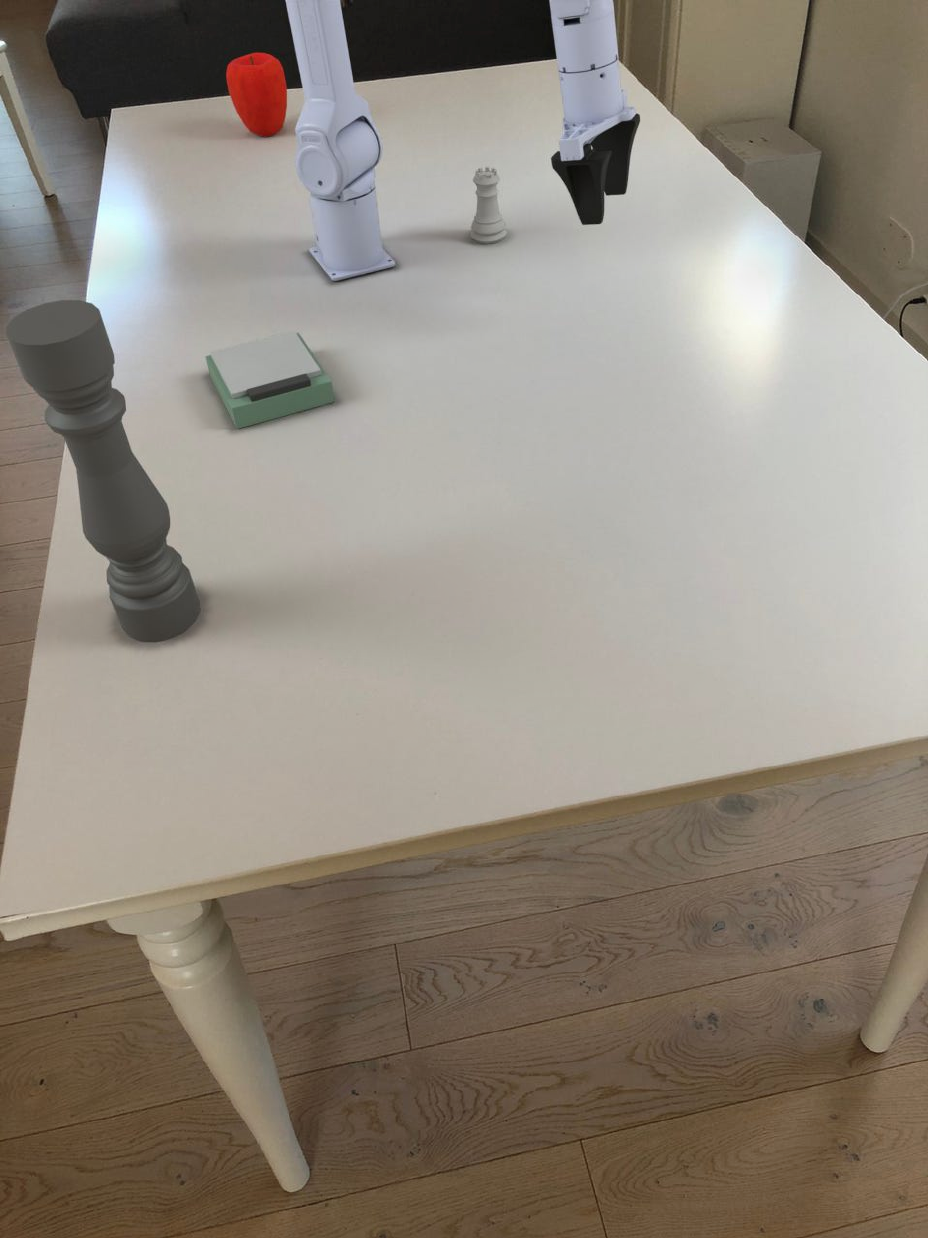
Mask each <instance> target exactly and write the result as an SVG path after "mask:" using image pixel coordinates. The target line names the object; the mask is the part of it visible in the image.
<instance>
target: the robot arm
mask: <svg viewBox="0 0 928 1238" xmlns="http://www.w3.org/2000/svg"><path fill="white" fill-rule="evenodd" d="M285 5H286V11H287V16H288V21H289V25H290V30H291V34H292V40H293V41H292V42H293V46H294V52H295V57H296V62H297V65H298V72H299V74H300V75H299V76H300V81H301V82H300V83H301V87H302V91H303V96H304V103H303V106H302V109H301V111H300V114H299V117H298V120H297V121H296V125H295V127H294V132H295V137H296V153H295V157H294V164H295V165H294V167H295V171H296V174H297V176H298V179H299V180H300V181H299V182H301V185H303V186H304V188H305V189H306V190H307V191H308V192H309V207H310V208H309V209H310V213H311V220H312V225H313V226H312V227H313V231H314V237H315V239H314V240H315V246H311V247H310V248H309V249H308V250H309V253H310V254H311V256H312V257H314V259H315V261H316V262H317V264H319V267H321V269H323V271H324V272H325V273H326V275H327V276H328V277H329V279H330V280H331V281H332V282H333V281H334V282H337V281H338V282H339V281H341V280H346V279H350V278H353V277H357V276H362V275H366V274H369V273H373V272H378V271H381V270H386V269H390V268H394V267H395V266H396V261H395V260H394V259H393V258H392V257H391V255H389V253H387V251H386V250H385V249H384V248H383V241H382V232H381V231H382V230H381V224H380V223H381V222H380V216H379V215H380V214H379V206H378V198H377V190H376V188H377V187H376V181H375V179H376V177H377V175H376V168H375V167H377V166H378V164H379V163H380V161H381V159H382V156H383V152H384V151H383V140H382V136H381V133H380V131H379V130H378V128H377V127H376V124H375V123H374V120H373V118H372V115H371V109H370V103H368V102H369V101H367V100H365V98H364V97H362V96H361V95H360V94H358V92H357V91H356V90H355V89H356V88H355V83H354V78H353V72H352V66H351V65H352V64H351V60H350V54H349V48H348V42H347V35H346V29H345V23H344V18H343V11H342V6H341V0H285ZM549 10H550V19H551V27H552V33H553V40H554V48H555V54H556V55H555V56H556V63H557V70H558V71H557V72H558V78H559V87H560V95H561V104H562V110H563V118H562V126H561V129H562V130H561V132H562V134H561V137H560V138H559V139H558V147H559V150H557V151H556V152H554V154H553V155H552V156H551V157H550V160H551V161H550V162H551V167H552V169H553V170H554V172H555V173H556V174H557V175H558V176H559V178H560V179H561V181H562V183H563V184H564V186H565V187H566V190H567V191H568V193H569V195H570V198H571V201H572V203H573V205H574V208H575V211H576V214H577V216H578V219H579V221H580V223H581V225H582V226H590V225H591V226H593V225H594V226H595V225H601V224H602V223H603V222H604V218H605V217H604V216H605V196H606V197H607V196H623V195H624V196H625V195H626V193H627V189H628V185H629V175H630V164H631V156H632V150H633V145H634V141H635V138H636V134H637V132H638V129H639V126H640V123H641V115H640V113H636V112H637V111H636V107H635V106H629V103H628V94H627V88H622V80H621V69H620V62H619V61H620V59H619V48H618V39H617V37H618V36H617V27H616V17H615V6H614V0H549Z"/></svg>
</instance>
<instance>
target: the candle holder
mask: <svg viewBox="0 0 928 1238" xmlns="http://www.w3.org/2000/svg"><path fill="white" fill-rule="evenodd" d="M5 336H6V338H7V340H8V343H9V345H10V348H11V350H12V353H13V355H14V357H15V361H16V362H17V365H18V367H19V370H20V372H21V375H22V377H23V380H24V381H25V382H26V383H27V384H28V385H29V387H31V388H32V390H33V391H34V392H35V393H36V394H37V395H38V396H39V397H40V398H42V399H44V401H45V402H46V403H47V404H48V405H47V407H46V408H45V409H44V422H45V423H46V425H47V426H48V427H49V428H50V429H51V430H52V432H53V433H56V434H59V435H60V436H62V437H63V439H64V442H65V445H66V447H67V449H68V452H69V454H70V457H71V459H72V462H73V465H74V467H75V470H76V479H77V487H78V488H77V489H78V495H79V504H80V517H81V526H82V533H83V536H84V538H85V539H86V540H87V541H88V543H89V544H90V545H91V546H92V547H93V549H94V550H95V551H96V552H97V553H99V554H100V555H101V556H103V557H105V558H106V560H107V561H109V564H108V567H107V568H106V583H107V586H109V587H108V590H109V592H108V593H109V600H110V602H111V604H112V607H113V610H114V611H115V614H116V616H117V619H118V621H119V624H120V626H121V628H122V630H123V631H124V632H125V634H126V635H127V636H128V637H129V638H132V639H134V640H136V641H138V642H146V643H147V642H149V643H157V642H161V641H166V640H169V639H173V638H174V637H177V636H179V635H181V634H182V633H184V632H186V631H187V630H188V629H190V627H191V626H192V625H193V624H195V623H196V622H197V620H198V617H199V614H200V612H201V604H200V598H199V596H198V592H197V590H196V586H195V583H194V580H193V578H192V577H193V576H192V575H191V571H190V568H188V566H186V565H185V564H184V563H183V558H182V557H183V556H182V555H181V554H180V553H179V552H178V550H176V549H175V547H173V546H171V545H168V541H167V537H168V535H169V532H170V529H171V514H170V509H169V505H168V503H167V501H166V500H165V498H164V497H163V496H162V494H161V492H160V491H159V489H157V487H156V485H155V484H154V482H153V481H152V479H151V478H150V476H149V475H148V472H146V470H145V469H144V467H143V466H142V464H141V463H140V461H139V460H138V458H137V457H136V455H135V454H134V453H133V450H132V447H131V444H130V442H129V439H128V436H127V433H126V430H125V427H124V424H123V421H122V420H123V417H124V415H125V413H126V412H127V404H126V397H125V395H124V394H123V393H122V392H121V391H120V390H119V389H117V388H114V387H113V385H112V384H113V383H112V381H113V379H114V377H115V366H114V365H115V363H116V361H115V353H114V350H113V347H112V344H111V340H110V338H109V334H108V332H107V329H106V326H105V323H104V320H103V317H102V314H101V310H100V308H98V307H97V306H96V305H95V304H94V303H92V302H88V301H84V300H80V299H60V300H56V301H50V302H44V303H41V304H39V305H35V306H33V307H29V308H27V309H26V310H24V311H22V312H21V313H19V314H17V315H16V316H13V318H12V319H11V320H10V321H9V323H8V324H7V325H6V330H5Z"/></svg>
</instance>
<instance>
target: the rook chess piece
mask: <svg viewBox="0 0 928 1238" xmlns="http://www.w3.org/2000/svg"><path fill="white" fill-rule="evenodd" d="M484 169H485V170H483V167H478V168H477V170H475V175H474V177H473V178H472V182H473V183H474V185H475V186H476V190H475V191H474V192H475V195H476V211H475V215H474V216H473V220H472V222H471V225H470V229H471V230H472V231H470V236H471V238H472V240H474V241H475V242H477V243H479V244H485V245H487V244H489V245H491V244H495V243H499V242H501V241H502V240H503V239H504V238H505V237H506V235H507V230H506V229H505V228H506V226H507V224H506V221H505V219H503V215H502V214H501V212H500V207H499V201H498V194H499V189H498V188H497V187H498V186H497V185H498V184H499V182H500V181H501V177H500V176H499V174H498V170H497V168H496V167H491V169H490V166H485V167H484Z"/></svg>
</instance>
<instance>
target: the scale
mask: <svg viewBox="0 0 928 1238" xmlns="http://www.w3.org/2000/svg"><path fill="white" fill-rule="evenodd" d="M204 358H205V361H206V365H207V369H208V372H209V377H210V379H211V381H212V382H213V385H214V386H215V388H216V391H217V392H218V394H219V397H220V398H221V400H222V403H223V404H224V406H225V408H226V410H227V413H228V415H229V416H230V418H231V421H232V422H233V424H234V426H235V428H236V429H237V430H240V429H242V428H246V427H249V426H254V425H257V424H261V423H265V422H269V421H272V420H275V419H278V418H282V417H286V416H289V415H293V414H297V413H300V412H304V411H307V410H311V409H314V408H319V407H322V406H325V405H329V404H332V403H335V395H334V389H333V383H332V380H331V378H330V376H328V374H327V373H326V371H325V370H324V368H323V367H322V366H321V364H320V362H319V360H318V359H317V358H316V356H315V355H314V354H313V352H312V351H311V349H310V348H309V346H308V345H307V343H306V341H305V339H304V338H303V337H302V335H301V334H300V332H296V331H295V330H293V329H292V330H289V331H285V332H281V333H278V334H275V335H269V336H267V337H262V338H258V339H255V340H254V339H253V340H251V341H247V342H243V343H239V344H236V345H232V346H231V345H230V346H227V347H224V348H220V349H215V350H212V351H209V355H206V356H205V357H204Z"/></svg>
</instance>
